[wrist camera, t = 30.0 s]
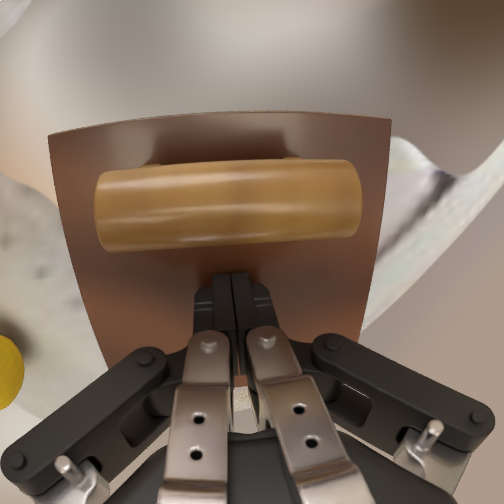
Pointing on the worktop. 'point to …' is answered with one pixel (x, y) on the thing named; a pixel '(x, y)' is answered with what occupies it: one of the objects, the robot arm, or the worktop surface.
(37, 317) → the worktop surface
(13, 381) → the lemon
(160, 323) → the lid
